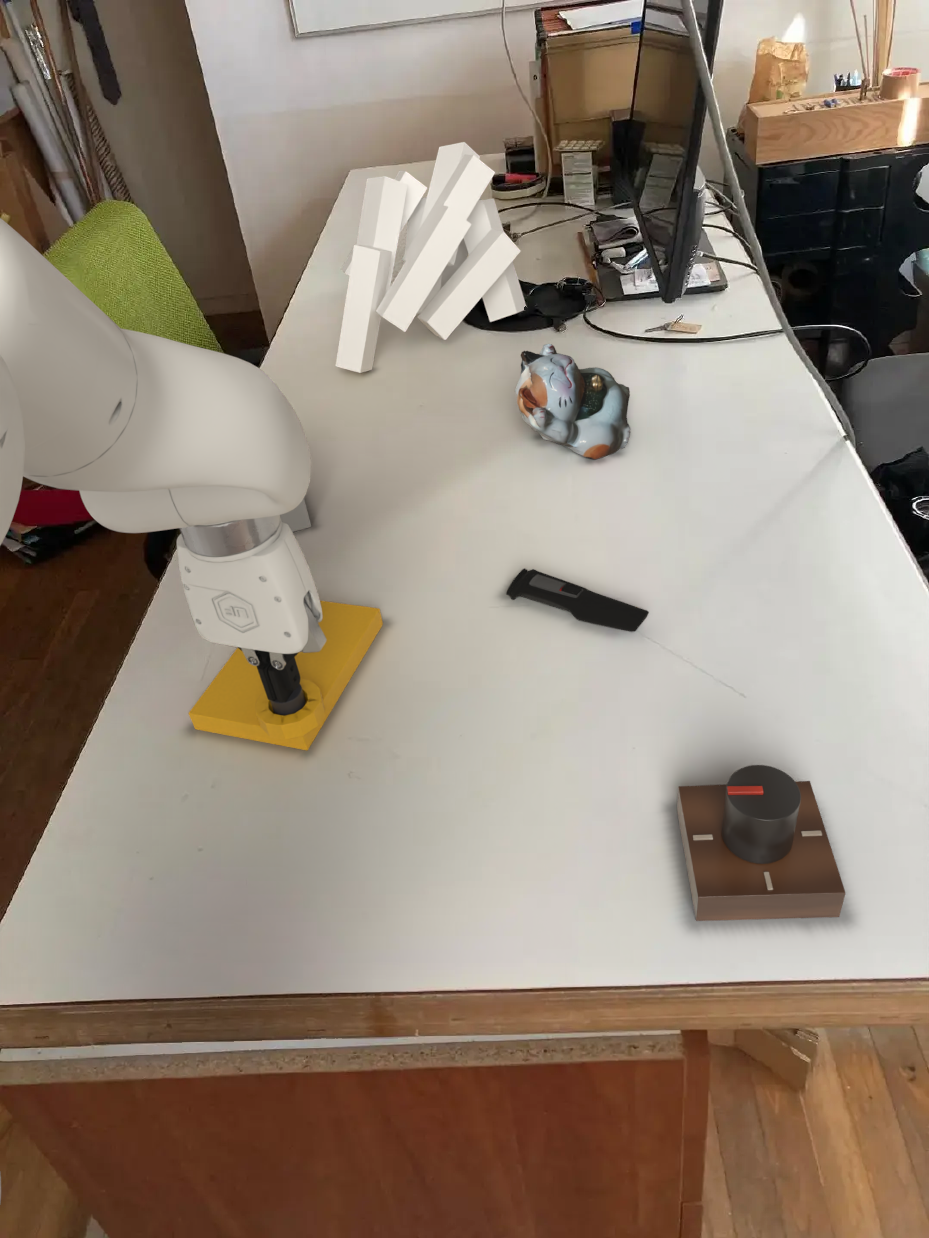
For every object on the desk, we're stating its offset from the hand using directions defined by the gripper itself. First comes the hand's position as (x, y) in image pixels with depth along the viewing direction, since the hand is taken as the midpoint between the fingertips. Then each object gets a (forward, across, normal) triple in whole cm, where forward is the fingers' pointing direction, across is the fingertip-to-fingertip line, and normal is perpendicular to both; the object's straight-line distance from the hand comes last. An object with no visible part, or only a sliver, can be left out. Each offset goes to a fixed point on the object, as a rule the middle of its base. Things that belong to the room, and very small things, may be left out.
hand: (284, 690), depth 83 cm
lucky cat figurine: (+5, +13, +56) cm, 58 cm away
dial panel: (+5, +41, -4) cm, 42 cm away
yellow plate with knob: (+5, -4, +7) cm, 10 cm away
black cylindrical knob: (+2, 0, 0) cm, 2 cm away
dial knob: (+2, +41, -4) cm, 41 cm away
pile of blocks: (+5, -18, +87) cm, 89 cm away
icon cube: (+5, -21, +32) cm, 39 cm away
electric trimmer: (+6, +21, +22) cm, 31 cm away
